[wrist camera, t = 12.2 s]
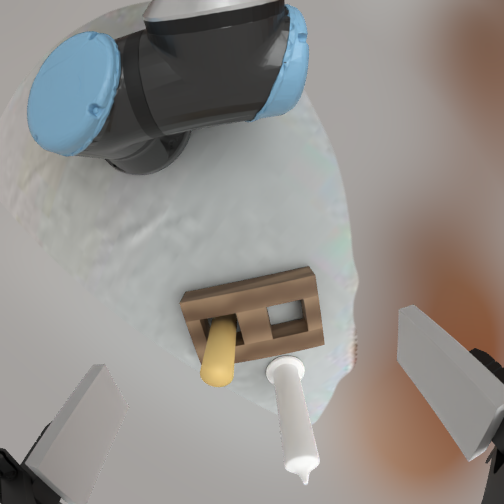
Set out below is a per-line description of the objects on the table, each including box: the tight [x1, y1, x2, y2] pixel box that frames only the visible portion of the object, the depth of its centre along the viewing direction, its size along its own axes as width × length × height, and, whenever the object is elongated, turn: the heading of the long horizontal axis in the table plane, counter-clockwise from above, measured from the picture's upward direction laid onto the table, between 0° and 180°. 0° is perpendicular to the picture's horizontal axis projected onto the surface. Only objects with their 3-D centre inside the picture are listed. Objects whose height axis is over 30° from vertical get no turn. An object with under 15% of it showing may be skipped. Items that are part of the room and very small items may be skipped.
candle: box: [266, 356, 320, 485], centre depth 37 cm, size 7×7×25 cm
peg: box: [200, 313, 237, 387], centre depth 39 cm, size 4×4×15 cm
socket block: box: [180, 266, 325, 365], centre depth 44 cm, size 12×20×4 cm, turn 102°
